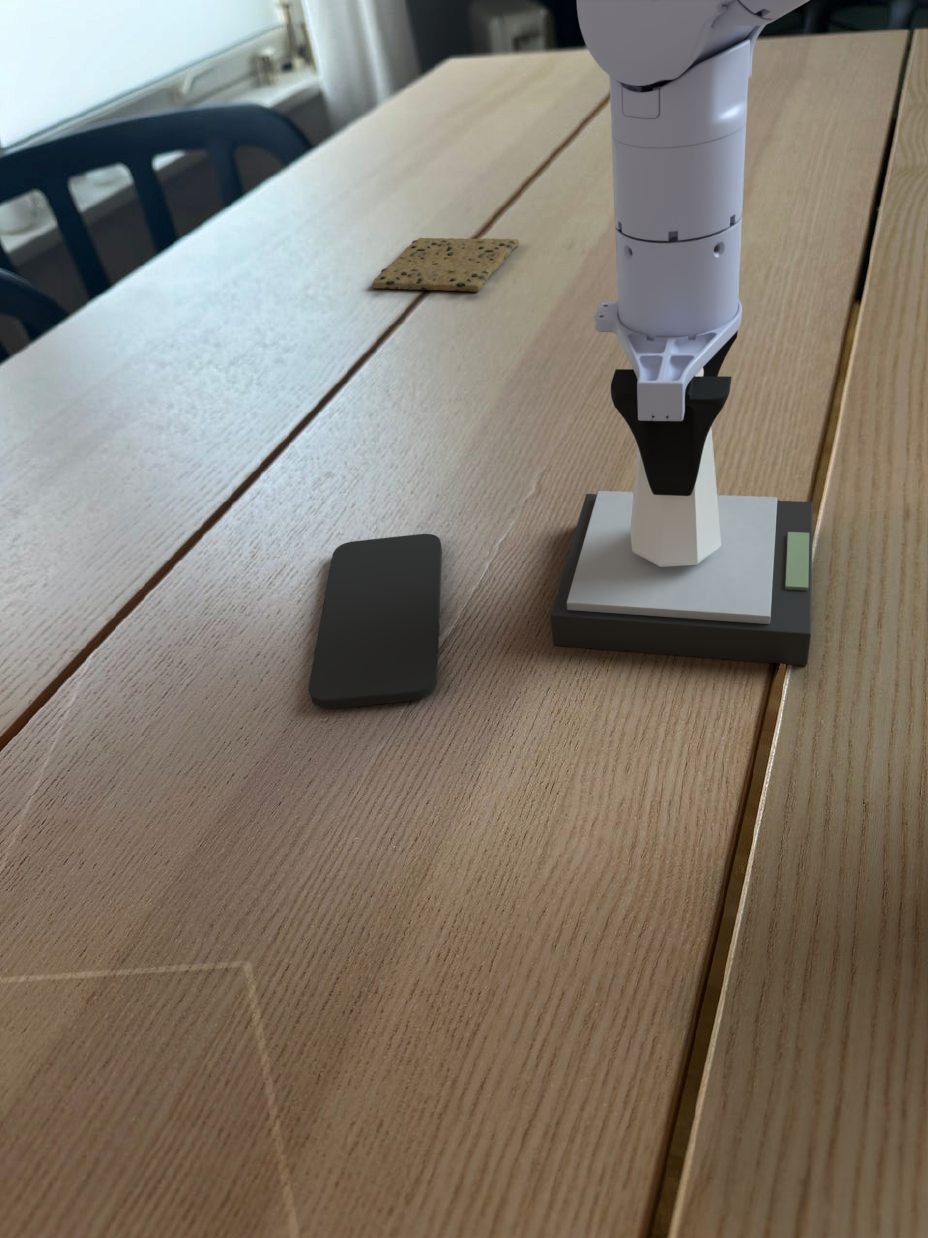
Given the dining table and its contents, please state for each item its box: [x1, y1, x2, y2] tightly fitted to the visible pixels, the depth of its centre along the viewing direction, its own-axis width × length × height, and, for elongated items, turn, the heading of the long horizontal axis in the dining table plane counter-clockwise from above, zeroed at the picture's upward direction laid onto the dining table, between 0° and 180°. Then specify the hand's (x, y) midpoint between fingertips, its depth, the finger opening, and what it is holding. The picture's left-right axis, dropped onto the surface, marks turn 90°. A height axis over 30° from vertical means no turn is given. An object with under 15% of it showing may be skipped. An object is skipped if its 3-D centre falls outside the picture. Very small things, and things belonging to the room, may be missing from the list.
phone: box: [308, 533, 443, 709], centre depth 61 cm, size 7×1×15 cm
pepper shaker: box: [630, 368, 721, 567], centre depth 53 cm, size 5×5×11 cm
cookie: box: [372, 237, 520, 292], centre depth 101 cm, size 12×12×1 cm
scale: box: [549, 490, 814, 667], centre depth 58 cm, size 14×12×3 cm
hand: (676, 468), depth 54 cm, fingers closed on pepper shaker, 4 cm apart
